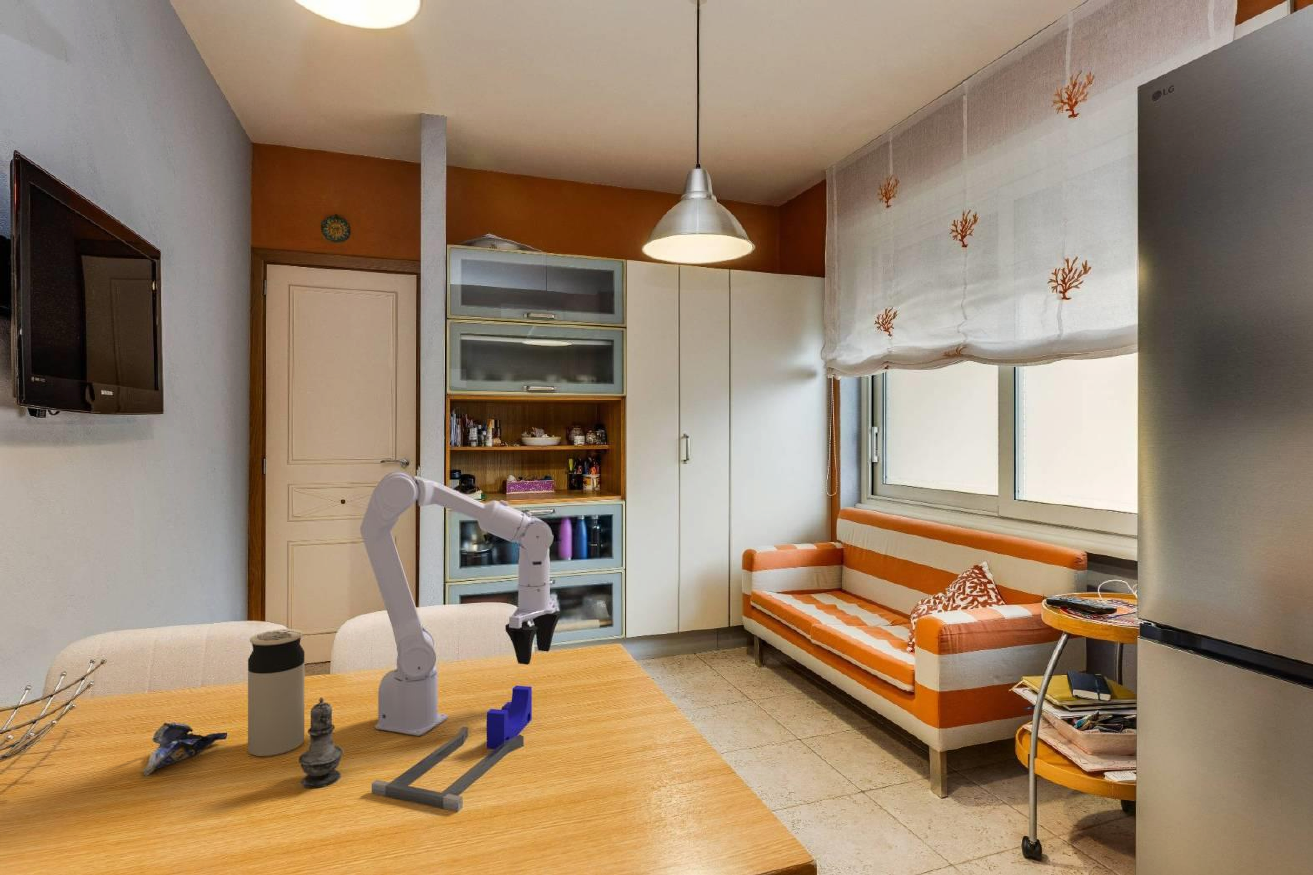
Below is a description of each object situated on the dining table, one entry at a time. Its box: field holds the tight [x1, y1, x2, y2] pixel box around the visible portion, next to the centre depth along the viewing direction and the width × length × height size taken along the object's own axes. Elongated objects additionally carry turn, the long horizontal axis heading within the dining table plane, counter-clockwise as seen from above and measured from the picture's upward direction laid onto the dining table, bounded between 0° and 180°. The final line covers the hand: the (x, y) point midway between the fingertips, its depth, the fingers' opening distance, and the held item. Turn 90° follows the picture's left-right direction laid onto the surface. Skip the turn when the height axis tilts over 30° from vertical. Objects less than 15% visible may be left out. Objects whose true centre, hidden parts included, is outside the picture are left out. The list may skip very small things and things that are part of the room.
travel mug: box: [247, 628, 305, 757], centre depth 109 cm, size 8×8×18 cm
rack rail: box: [371, 726, 525, 812], centre depth 102 cm, size 14×20×2 cm
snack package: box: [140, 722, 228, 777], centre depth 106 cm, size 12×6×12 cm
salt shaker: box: [298, 697, 344, 790], centre depth 99 cm, size 6×6×12 cm
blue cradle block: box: [486, 685, 533, 751], centre depth 114 cm, size 12×4×6 cm, turn 169°
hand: (534, 656), depth 125 cm, fingers open, 7 cm apart
